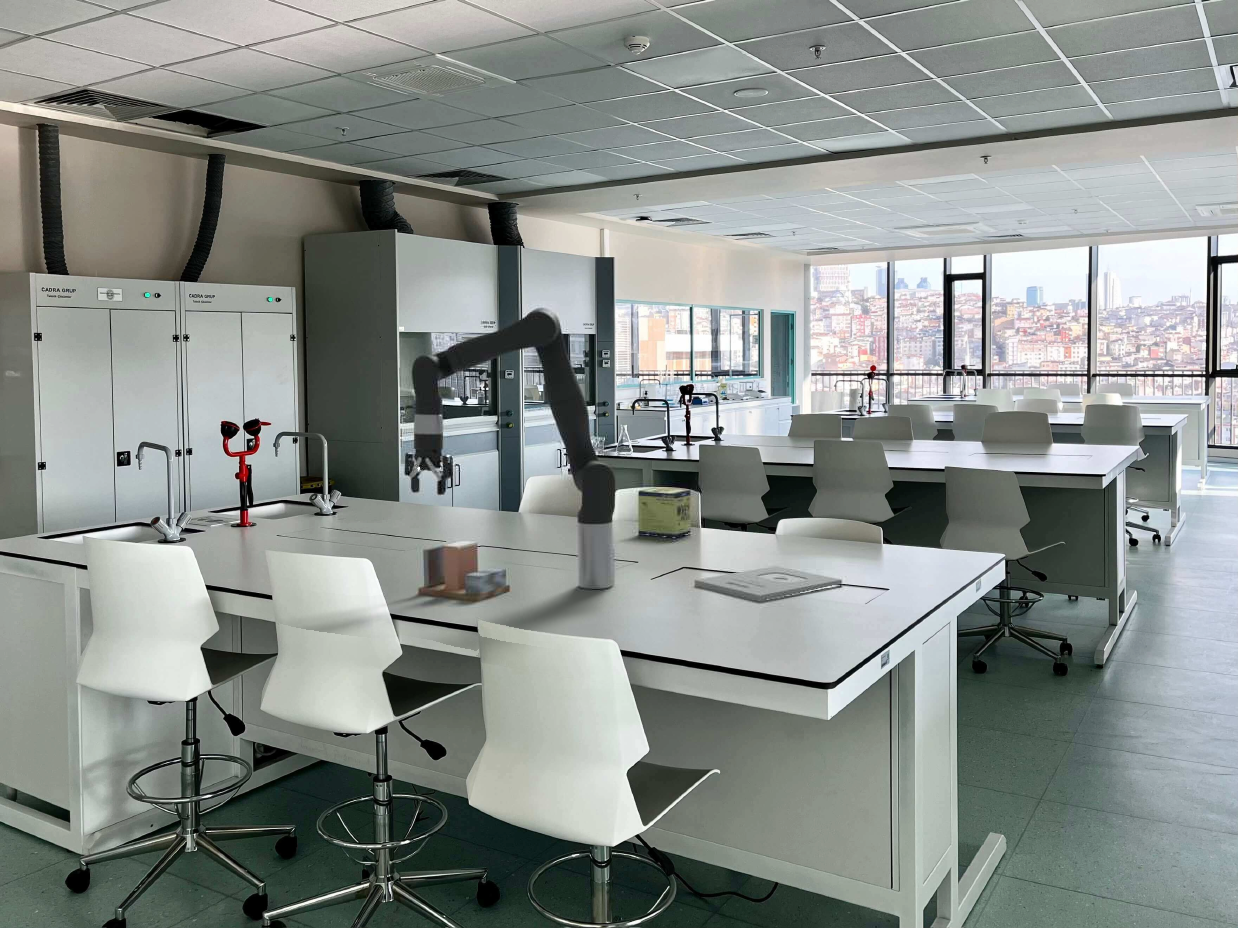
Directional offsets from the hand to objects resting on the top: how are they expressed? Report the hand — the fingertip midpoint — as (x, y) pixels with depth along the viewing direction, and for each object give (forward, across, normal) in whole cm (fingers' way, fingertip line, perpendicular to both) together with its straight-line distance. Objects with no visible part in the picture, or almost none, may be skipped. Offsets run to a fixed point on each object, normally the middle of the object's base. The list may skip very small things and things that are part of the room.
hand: (428, 493), depth 273 cm
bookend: (+24, -3, -2) cm, 24 cm away
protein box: (+23, -15, -107) cm, 111 cm away
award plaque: (+23, -78, -44) cm, 93 cm away
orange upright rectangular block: (+24, -10, -2) cm, 26 cm away
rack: (+25, -11, -2) cm, 28 cm away
